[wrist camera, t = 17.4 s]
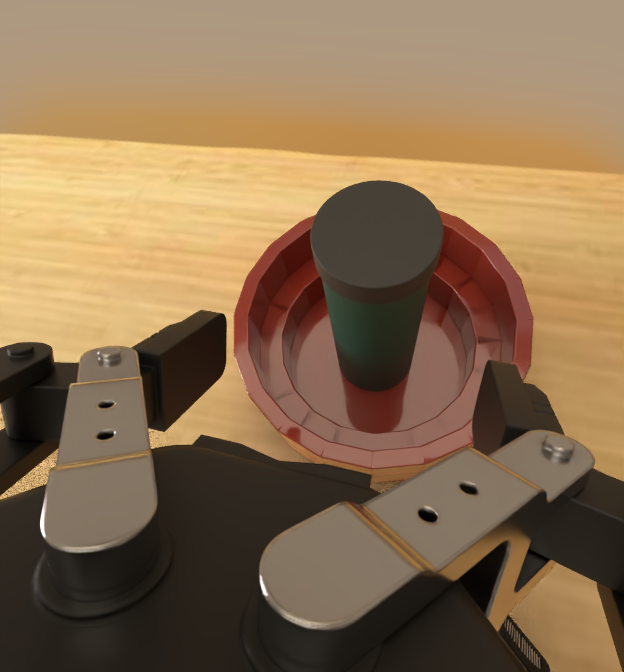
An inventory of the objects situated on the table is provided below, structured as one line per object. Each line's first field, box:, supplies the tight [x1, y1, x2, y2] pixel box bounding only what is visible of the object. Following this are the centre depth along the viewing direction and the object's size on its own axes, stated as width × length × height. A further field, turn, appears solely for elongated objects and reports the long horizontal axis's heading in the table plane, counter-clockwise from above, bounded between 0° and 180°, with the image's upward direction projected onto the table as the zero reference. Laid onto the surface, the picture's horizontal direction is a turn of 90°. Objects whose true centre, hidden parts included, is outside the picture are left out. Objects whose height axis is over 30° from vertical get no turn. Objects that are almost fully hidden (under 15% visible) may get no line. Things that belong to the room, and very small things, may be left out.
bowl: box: [234, 210, 533, 483], centre depth 25 cm, size 15×15×6 cm
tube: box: [310, 181, 444, 391], centre depth 21 cm, size 5×5×12 cm
